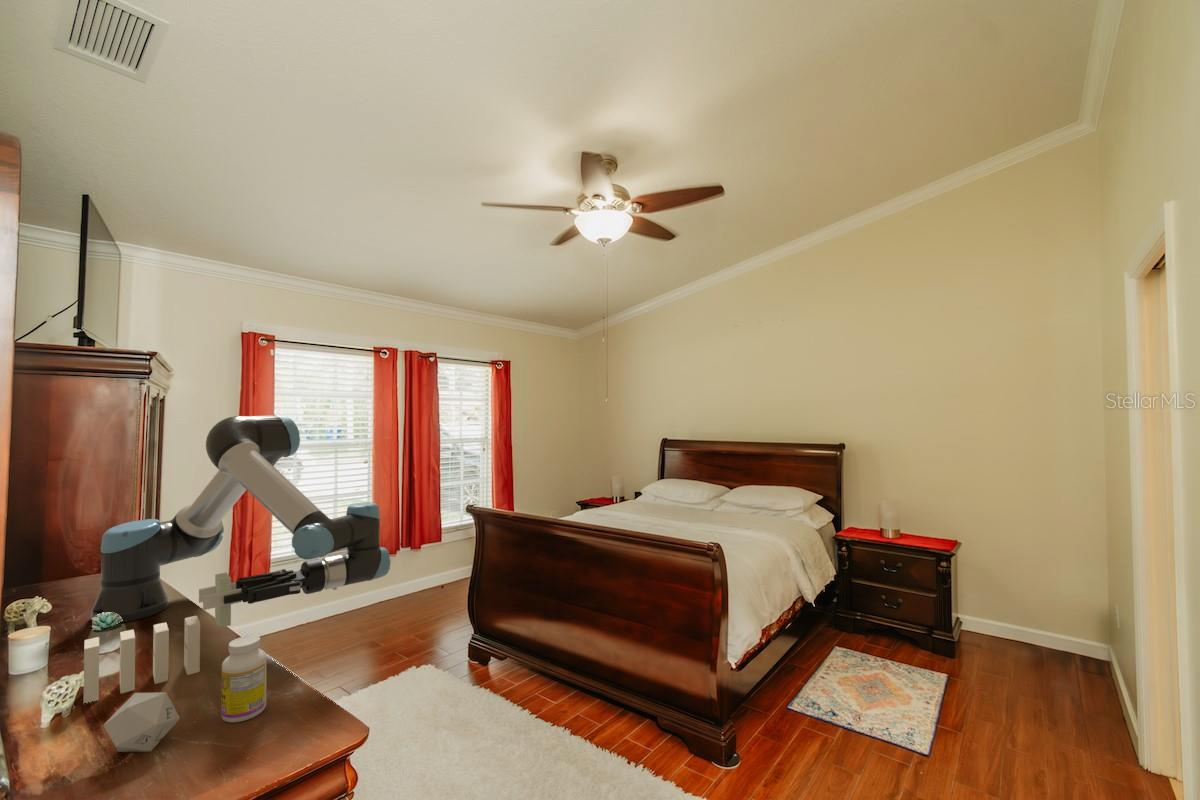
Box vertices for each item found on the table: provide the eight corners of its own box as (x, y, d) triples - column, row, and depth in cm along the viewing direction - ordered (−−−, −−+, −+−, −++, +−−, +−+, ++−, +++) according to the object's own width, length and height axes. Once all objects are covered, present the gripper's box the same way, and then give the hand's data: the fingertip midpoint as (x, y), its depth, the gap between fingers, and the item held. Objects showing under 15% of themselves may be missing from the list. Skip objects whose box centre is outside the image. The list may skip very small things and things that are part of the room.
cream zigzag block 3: (165, 670, 108) (166, 622, 108) (168, 680, 104) (168, 629, 104) (152, 674, 107) (153, 624, 107) (154, 684, 103) (155, 632, 103)
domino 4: (226, 618, 115) (226, 572, 115) (230, 625, 111) (231, 577, 111) (215, 620, 114) (215, 574, 114) (219, 628, 110) (219, 580, 110)
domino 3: (196, 662, 112) (196, 615, 112) (199, 671, 108) (200, 622, 108) (184, 666, 110) (184, 618, 110) (187, 675, 106) (187, 625, 107)
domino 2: (133, 679, 105) (133, 629, 105) (134, 689, 101) (135, 637, 101) (119, 683, 103) (120, 632, 103) (120, 693, 99) (121, 640, 100)
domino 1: (98, 689, 101) (99, 636, 101) (98, 699, 97) (99, 645, 98) (83, 692, 100) (84, 640, 100) (83, 704, 96) (84, 649, 96)
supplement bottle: (227, 706, 95) (228, 635, 95) (270, 699, 97) (270, 630, 98) (215, 728, 89) (216, 651, 89) (261, 719, 91) (261, 645, 91)
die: (115, 776, 78) (165, 712, 81) (76, 741, 80) (127, 680, 83) (157, 761, 86) (202, 703, 89) (121, 729, 87) (166, 674, 90)
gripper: (334, 600, 119) (207, 630, 103) (310, 581, 133) (195, 605, 116) (334, 566, 120) (208, 592, 103) (310, 551, 133) (195, 571, 116)
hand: (201, 599), depth 110 cm, fingers closed on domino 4, 5 cm apart
